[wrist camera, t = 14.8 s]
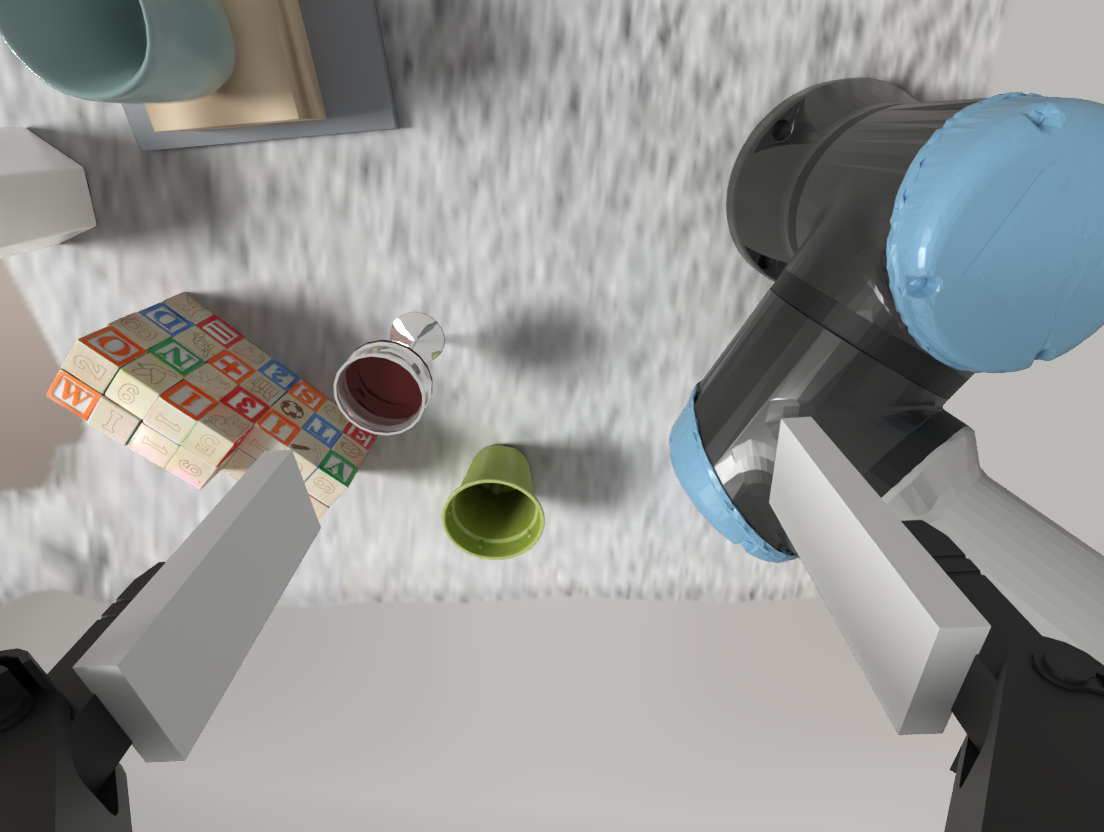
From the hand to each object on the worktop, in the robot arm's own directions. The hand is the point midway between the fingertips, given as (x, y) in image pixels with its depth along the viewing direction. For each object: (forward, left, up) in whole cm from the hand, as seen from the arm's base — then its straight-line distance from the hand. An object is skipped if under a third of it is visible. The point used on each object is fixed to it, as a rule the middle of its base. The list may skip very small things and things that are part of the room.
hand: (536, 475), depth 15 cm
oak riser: (+21, -15, -34) cm, 42 cm away
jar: (+41, -7, -35) cm, 54 cm away
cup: (+21, -15, -29) cm, 39 cm away
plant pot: (+7, +23, -35) cm, 42 cm away
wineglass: (+13, +8, -35) cm, 38 cm away
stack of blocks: (+28, +12, -35) cm, 47 cm away
